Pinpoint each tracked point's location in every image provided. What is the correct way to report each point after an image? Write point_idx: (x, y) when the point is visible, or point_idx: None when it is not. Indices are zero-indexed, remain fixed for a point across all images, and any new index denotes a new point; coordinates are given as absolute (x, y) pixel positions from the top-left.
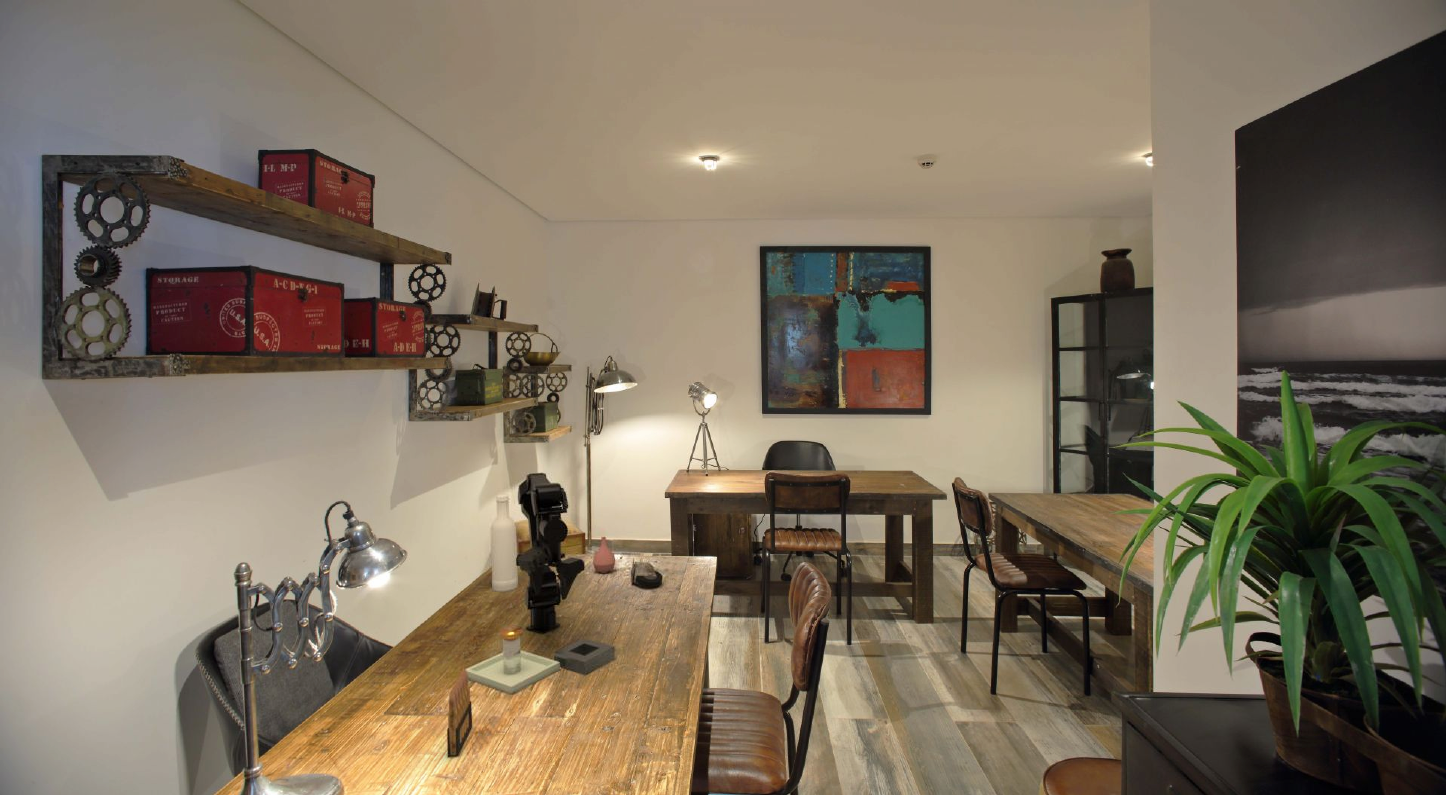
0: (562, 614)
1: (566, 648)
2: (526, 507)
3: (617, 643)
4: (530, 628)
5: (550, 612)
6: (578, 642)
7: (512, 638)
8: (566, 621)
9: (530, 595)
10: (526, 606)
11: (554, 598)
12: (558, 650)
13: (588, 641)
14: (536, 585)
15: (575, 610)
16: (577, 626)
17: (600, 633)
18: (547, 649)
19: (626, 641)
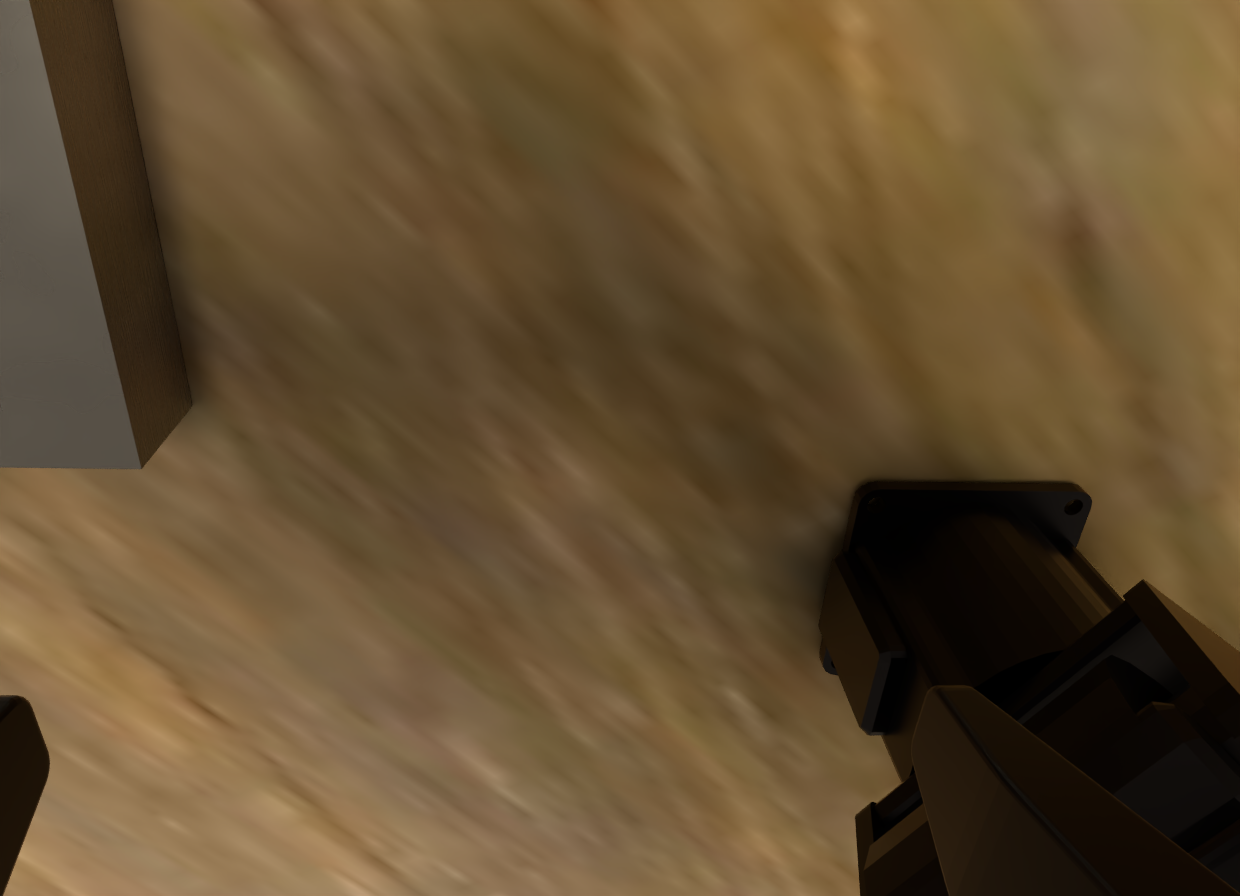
0: None
1: (11, 134)
2: None
3: (73, 638)
4: (1030, 494)
5: (896, 694)
6: (70, 351)
7: None
8: (833, 737)
9: (1219, 732)
10: (1218, 637)
11: (880, 847)
12: (31, 20)
13: (2, 425)
14: (1043, 874)
15: None
16: (674, 714)
17: (385, 706)
18: (542, 241)
19: (48, 695)
